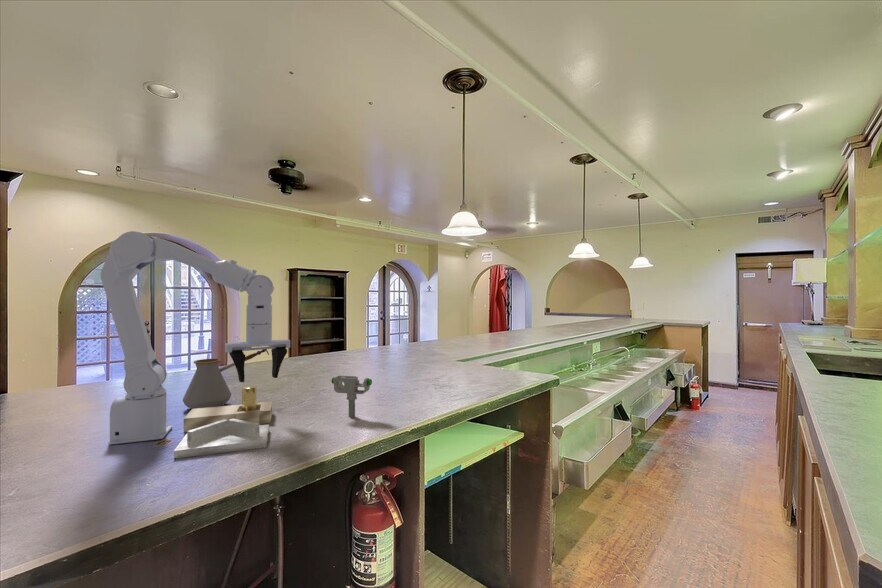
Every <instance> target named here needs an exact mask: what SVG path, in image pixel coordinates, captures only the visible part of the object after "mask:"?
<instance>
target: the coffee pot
mask: <svg viewBox="0 0 882 588" xmlns="http://www.w3.org/2000/svg"><path fill="white" fill-rule="evenodd" d="M256 351H257V352H254V353H251V354H248V355H245V362H247V361H249V360H251V359H254V358H255V357H256V356H258V355H259V356H260V355H261V354H262V353H265V352H266V353H267V355H268V356H270V354H269V351H268V349H262V350H256ZM220 362H222V360H221V358H203V359H197V360H194V361H193V363H194V364H195V368H196V370H195V373H194V374H193V377H192V378H191V381H190V383H189V385H188V387H187V389H186V391H185V393H184V395H183V397H182V403H184V405H185V406H186V407H187V408H189V409H190V411H191V410H192V409H196V408H207V407H218V406H225V405H226V404H227V403H228V402H229V401H230V399H231V397H232V392H231V390H230V388H229V387H228V384H227V381H226V380H225V378H224V375H223V374H222V372H223V371H225V370H228V369H230V368H233V367H235V364H234V362H233V363H231V364H228V365H225V366H222V367H220V368H219V365H220Z"/></svg>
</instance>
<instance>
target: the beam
mask: <svg viewBox="0 0 882 588" xmlns="http://www.w3.org/2000/svg"><path fill="white" fill-rule="evenodd" d="M272 415H273V401H267V402H257V408H256V410H251V411H242V403H240V404H233V405H231V404H230V405H224V406H218V407H207V408H196V409H192V410H191V409H190V411H189V412H188V413H187V414H185V416H184V417H183V433H184V432H185V433H186V432H187V431H189V430H192V429H195V428H199V427H202V426H205V425H208V424H211V423H214V422H217V421H220V420H224V419H225V420H230V419H239V420H244V421H249V422H254V423H259V425H265V424H270V423H271V421H272Z"/></svg>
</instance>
